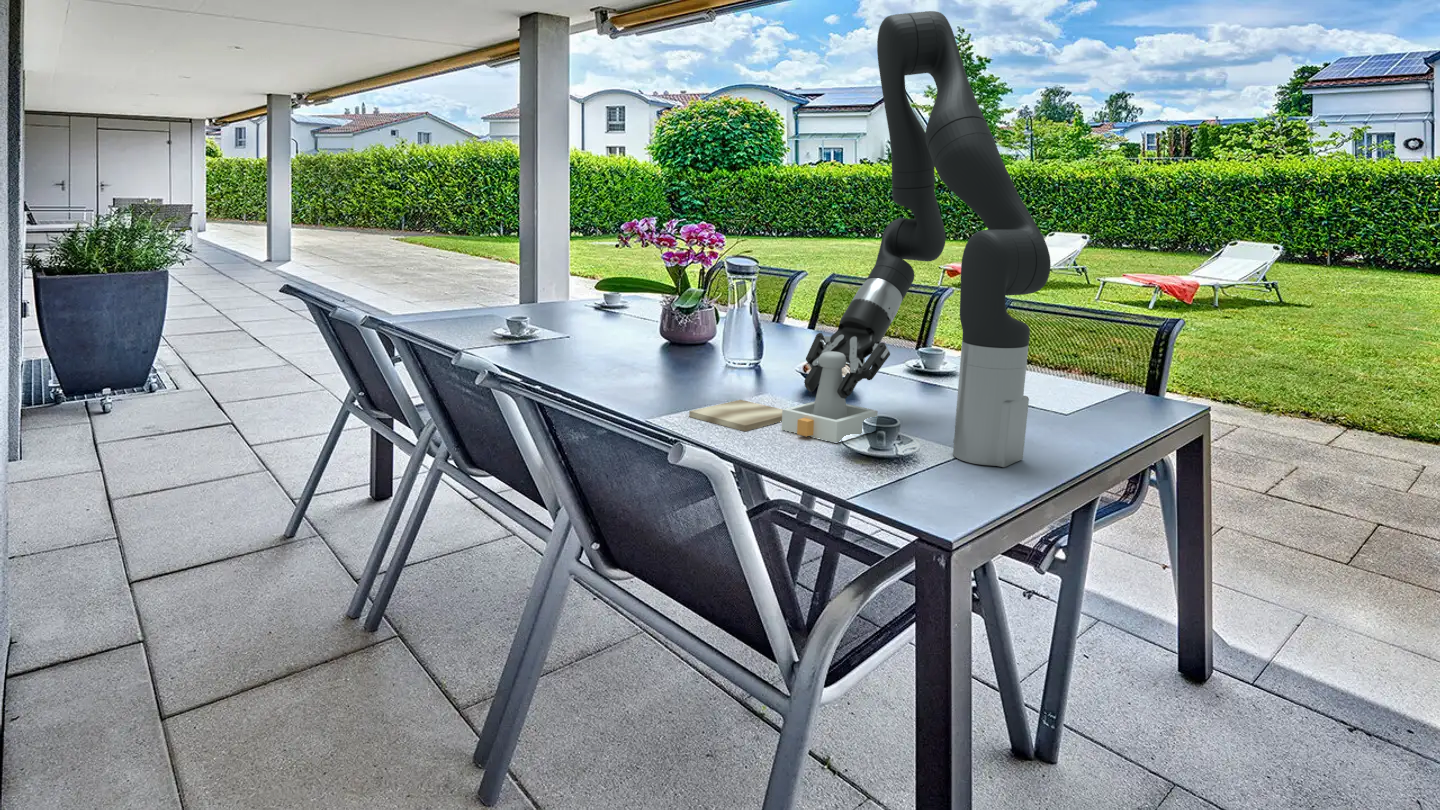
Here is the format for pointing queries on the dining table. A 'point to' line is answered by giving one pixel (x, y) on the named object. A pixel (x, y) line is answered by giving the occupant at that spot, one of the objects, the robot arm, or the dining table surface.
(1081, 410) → the dining table surface
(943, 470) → the dining table surface
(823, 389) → the salt shaker
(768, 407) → the oak board
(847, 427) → the pale grey open tray
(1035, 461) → the dining table surface
